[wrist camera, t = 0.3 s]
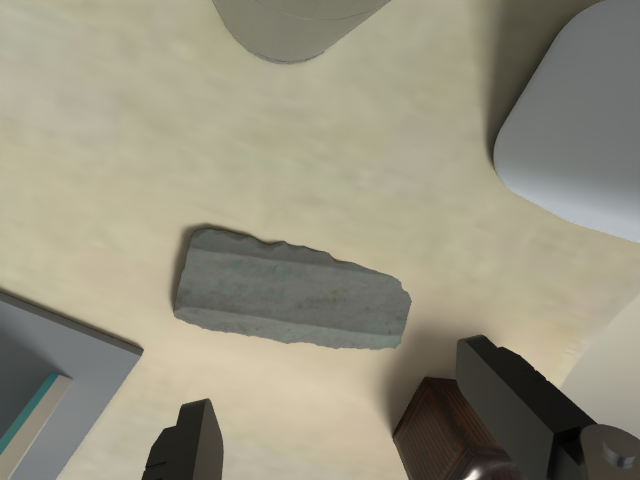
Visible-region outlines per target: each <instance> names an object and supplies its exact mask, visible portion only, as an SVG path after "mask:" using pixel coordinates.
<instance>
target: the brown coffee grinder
mask: <svg viewBox="0 0 640 480" xmlns="http://www.w3.org/2000/svg"><path fill="white" fill-rule="evenodd" d="M393 442H394V444H395V445H396V447H397V450H398V453H399V455H400V458H401V460H402V463H403V466H404V468H405V471H406V473H407V476H408V479H409V480H527V479H526V477H525V476H524V475H523V473H522V472H521V471H520V469H519V468H518V467H517V466H516V464H515V463H514V462H513V460H512V459H511V458H510V456H509V455H508V454H507V452H506V451H505V450H504V448H503V447H502V446H501V445H500V443H499V442H498V441H497V439H496V438H495V437H494V435H493V434H492V433H491V431H490V430H489V429H488V427H487V426H486V425H485V424H484V422H483V421H482V420H481V418H480V417H479V416H478V414H477V413H476V412H475V410H474V409H473V408H472V406H471V405H470V404H469V403H468V401H467V400H466V399H465V397H464V396H463V394H462V393H461V391H460V389H459V386H458V383H457V380H453V379H442V378H431V377H425V379H424V380H423V382H422V383H421V385H420V386H419V388H418V389H417V391H416V393H415V395H414V396H413V398H412V400H411V402H410V404H409V406H408V407H407V409H406V411H405V413H404V415H403V417H402V419H401V420H400V422H399V424H398V426H397V428H396V430H395V432H394V435H393Z"/></svg>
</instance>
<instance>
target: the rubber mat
mask: <svg viewBox="0 0 640 480" xmlns="http://www.w3.org/2000/svg"><path fill="white" fill-rule="evenodd" d="M143 351H144V350H142V349H140V348H137V347H135V346H132V345H130V344H127V343H125V342H122V341H120V340H117V339H115V338H112V337H110V336H107V335H105V334H102V333H100V332H98V331H95V330H93V329H90V328H88V327H85V326H83V325H80V324H78V323H75V322H73V321H70V320H68V319H65V318H63V317H60V316H58V315H55V314H53V313H50V312H48V311H45V310H43V309H41V308H38V307H36V306H33V305H31V304H28V303H26V302H23V301H21V300H18V299H16V298H13V297H11V296H8V295H6V294H3V293H1V292H0V439H1V438H2V437H3V436H4V434H5V433H6V432H7V430H8V429H9V428H10V426H11V425H12V424H13V422H14V421H15V420H16V419H17V417H18V416H19V415H20V413H21V412H22V411H23V409H24V408H25V407H26V405H27V404H28V403H29V402H30V400H31V399H32V398H33V396H34V395H35V394H36V392H37V391H38V390H39V388H40V387H41V386H42V385H43V383H44V382H45V381H46V379H47V378H48V377H49V375H50V374H51V373H52V372H53V373H56V374H59V375H61V376H64V377H67V378H70V379H73V382H72V383H71V385H70V386H69V388H68V389H67V391H66V392H65V394H64V396H63V397H62V399H61V400H60V402H59V403H58V405H57V406H56V408H55V409H54V411H53V413H52V414H51V416H50V417H49V419H48V420H47V422H46V423H45V425H44V427H43V428H42V430H41V431H40V433H39V434H38V436H37V437H36V439H35V440H34V442H33V444H32V445H31V447H30V448H29V450H28V451H27V453H26V454H25V456H24V457H23V459H22V460H21V462H20V463H19V465H18V466H17V468H16V469H15V471H14V472H13V474H12V475H11V477H10V478H9V480H55V479H56V478H57V477H58V475H59V474H60V472H61V471H62V469H63V468H64V467H65V465H66V464H67V462H68V461H69V459H70V458H71V456H72V455H73V454H74V452H75V451H76V449H77V448H78V446H79V445H80V444H81V442H82V441H83V439H84V438H85V436H86V435H87V433H88V432H89V431H90V429H91V428H92V426H93V425H94V423H95V422H96V420H97V419H98V418H99V416H100V415H101V413H102V412H103V410H104V409H105V408H106V406H107V405H108V403H109V402H110V400H111V399H112V397H113V396H114V395H115V393H116V392H117V390H118V389H119V387H120V386H121V385H122V383H123V382H124V380H125V379H126V377H127V376H128V374H129V373H130V372H131V370H132V369H133V367H134V366H135V364H136V363H137V361H138V360H139V359H140V357H141V355H142V353H143Z"/></svg>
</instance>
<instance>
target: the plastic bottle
mask: <svg viewBox="0 0 640 480" xmlns="http://www.w3.org/2000/svg"><path fill="white" fill-rule="evenodd" d="M493 159H494V167H495V171H496V173H497V176H498V177H499V179H500V181H501V182H502V184H503V185H504V186H505V187H506V188H508V189H509V190H510V191H512V192H514V193H515V194H517V195H519V196H521V197H523V198H525V199H527V200H529V201H530V202H532V203H534V204H536V205H538V206H540V207H542V208H544V209H545V210H547V211H549V212H551V213H553V214H555V215H557V216H559V217H561V218H562V219H564V220H566V221H569V222H572V223H575V224H578V225H581V226H585V227H588V228H591V229H595V230H598V231H601V232H604V233H608V234H611V235H614V236H617V237H621V238H624V239H627V240H631V241H634V242H637V243H640V0H605V1H602V2H599V3H596V4H594V5H592V6H590V7H588V8H586V9H585V10H583V11H581V12H580V13H579V14H577V15H576V16H575V17H574V18H572V19H571V20H570V21H569V22H568V23H567V24H566V25H565V26H564V27H563V29H562V30H561V31H560V32H559V34H558V35H557V36H556V38H555V40H554V41H553V43H552V44H551V46H550V48H549V49H548V51H547V53H546V54H545V56H544V58H543V59H542V61H541V63H540V64H539V66H538V68H537V69H536V71H535V73H534V74H533V76H532V78H531V79H530V81H529V83H528V84H527V86H526V88H525V89H524V91H523V92H522V94H521V96H520V97H519V99H518V101H517V102H516V104H515V106H514V107H513V109H512V111H511V112H510V114H509V116H508V117H507V119H506V121H505V122H504V124H503V126H502V127H501V129H500V131H499V134H498V136H497V139H496V143H495V147H494V157H493Z"/></svg>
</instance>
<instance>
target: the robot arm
mask: <svg viewBox="0 0 640 480" xmlns="http://www.w3.org/2000/svg"><path fill="white" fill-rule="evenodd" d="M212 1H213V3H214V5H215V7H216V9H217V11H218V13H219V15H220V17H221V19H222V21H223V22H224V24H225V26H226V28H227V29H228V30H229V32H230V33H231V34H232V36H233V37H234V38H235V39H236V41H238V42H239V43H240V44H241V45H242V46H243V47H244V48H245V49H247V50H248V51H249V52H251V53H252V54H254V55H256V56H258V57H259V58H261V59H264V60H267V61H270V62H273V63H278V64H295V63H302V62H305V61H307V60H310V59H312V58H315V57H316V56H318V55H320V54H322V53H324V51H325V50H326V49H328V48H329V47H330V46H332V45H333V44H335V43H336V42H337V41H339V40H340V39H341V38H343V37H344V36H345V35H347V34H348V33H349V32H351V31H352V30H353V29H354V28H356V27H357V26H358V25H360V24H361V23H362V22H364V21H365V20H366V19H368V18H369V17H370V16H372V15H373V14H374V13H375V12H377V11H378V10H379V9H381V8H382V7H383V6H385V5H386V4H387V3H389V2H390V1H391V0H212ZM456 379H457V383H458V386H459V389H460V391H461V393H462V394H463V396H464V397H465V399H466V400H467V401H468V403H469V404H470V405H471V406H472V408H473V409H474V410H475V412H476V413H477V414H478V416H479V417H480V418H481V420H482V421H483V422H484V424H485V425H486V426H487V427H488V429H489V430H490V431H491V433H492V434H493V435H494V437H495V438H496V439H497V441H498V442H499V443H500V445H501V446H502V447H503V448H504V450H505V451H506V452H507V454H508V455H509V456H510V458H511V459H512V460H513V462H514V463H515V464H516V466H517V467H518V468H519V469H520V471H521V472H522V473H523V475H524V476H525V477H526V479H527V480H640V440H639V439H638V438H637V437H635V436H633V435H631V434H630V433H628V432H626V431H624V430H622V429H619V428H616V427H613V426H609V425H604V424H597V423H596V422H595V421H594V420H593V419H591V418H590V417H589V416H588V415H587V414H586V413H585V412H584V411H582V410H581V409H580V408H579V407H578V406H577V405H575V404H574V403H573V402H572V401H571V400H570V399H569V398H568V397H567V396H565V395H564V394H563V393H562V392H561V391H560V390H559V389H557V388H556V387H555V386H554V385H553V384H552V383H551V382H550V381H547V380H546V378H545V377H544V376H543V375H542V374H540V373H539V372H538V371H537V370H536V371H535V369H534V367H533V366H531V365H530V364H529V363H528V362H527V361H526V360H525V359H523V358H522V357H521V356H520V355H518V354H516V353H514V352H512V351H510V350H508V349H506V348H504V347H499V348H497V347H496V346H495V345H494V344H493V343H492V342H491V341H490V340H489V339H488V338H487V337H485V336H484V335H476V336H472V337H468V338H463V339H460V340H458V342H457V358H456ZM223 454H224V452H223V440H222V435H221V431H220V428H219V425H218V422H217V419H216V416H215V412H214V409H213V406H212V403H211V401H210V399H209V398H207V399H203V400H199V401H195V402H190V403H186V404H183V405H182V406H181V408H180V412H179V416H178V420H177V424H176V426H173V427H169V428H165V429H164V430H163V431H162V433H161V434H160V436H159V437H158V438H157V440H156V441H155V443H154V444H153V446H152V447H151V450H150V454H149V457H148V460H147V463H146V466H145V468H146V470H145V471H144V473H143V476H142V479H141V480H221V479H222V468H223Z"/></svg>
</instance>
